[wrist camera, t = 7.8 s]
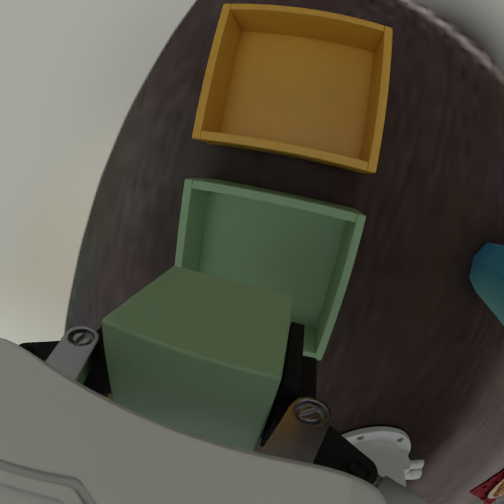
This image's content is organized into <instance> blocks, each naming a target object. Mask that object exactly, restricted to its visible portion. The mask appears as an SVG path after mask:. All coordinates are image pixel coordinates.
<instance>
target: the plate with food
mask: <svg viewBox="0 0 504 504" xmlns="http://www.w3.org/2000/svg"><path fill="white" fill-rule="evenodd" d="M486 485H488V486H487V487H484V486H486ZM482 487H484V488H482ZM470 493H472V494H473V495H476V496H477V497H479V498H480V499H481V500H485V501H484V502H485V503H484V504H486V503H487V504H491V503H492V502H493V501H494V502H495V500H496V498H499V497H501V496H502V495H504V470H503V471H502V472H500V474H498V475H497V476H494V477H493V478H491V479H490V480H489V481H487V482H486V483H485V484H482V485H481V486H478V487H477V488H476V489H474V490H472V491H471V492H470Z"/></svg>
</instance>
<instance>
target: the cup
mask: <svg viewBox="0 0 504 504" xmlns="http://www.w3.org/2000/svg"><path fill="white" fill-rule="evenodd" d="M469 279H470V281H471V283H472V285H473V287H474V289H475V292H476V293H477V294H478V296H479V297H480V298H481V299H482V300H483V301H484V302H485V304H486V305H487V306H488V307H489V308H490V309H491V311H492V312H493V313H494V314H495V315H496V317H497V318H498V319H499V320H500V322H501V323H502V324H503V325H504V245H501V244H494V243H486V244H485V245H484V246H483V247H482V248H481V249H480V250H479V251H478V252H477V253H476V254H475V255H474V256H473V261H472V266H471V271H470V275H469Z"/></svg>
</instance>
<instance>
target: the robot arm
mask: <svg viewBox="0 0 504 504" xmlns="http://www.w3.org/2000/svg"><path fill="white" fill-rule="evenodd" d="M304 329H305V325H304V324H300V323H295V322H291V325H290V327H289V334H288V341H287V347H286V354H285V360H284V366H283V372H282V378H281V382H280V384H279V387H278V390H277V393H276V396H275V399H274V402H273V405H272V408H271V410H270V413H269V416H268V419H267V421H266V424H265V427H264V429H263V432H262V435H261V437H260V438H262V440H261V444H260V446H263V448H262V449H261V451H260V452H259V453H258V452H254V451H250V450H246V449H242V448H238V447H234V446H231V445H227V444H223V443H220V442H217V441H213V440H210V439H207V438H204V437H200V436H197V435H194V434H191V433H189V432H186V431H183V430H180V429H177V428H175V427H172V426H169V425H167V424H164V423H162V422H159V421H157V420H154V419H152V418H149V417H147V416H145V415H142V414H140V413H138V412H136V411H133V410H131V409H129V408H127V407H125V406H123V405H121V404H119V403H116V402H114V401H112V400H110V399H108V394H110V393H111V394H112V392H111V387H110V381H109V376H108V370H107V363H106V356H105V349H104V341H103V332H102V325H101V328H100V329H98V330H97V331H96V330H94V329H93V328H90V327H86V326H78V327H74V328H71V329H70V330H68V331H67V332H66V333H65V335H64V336H63V337H62V339H61V340H60V341H53V342H52V341H51V342H35V343H34V342H32V343H22V344H20V345H17V344H15V343H13V342H11V341H8V340H6V339H2V338H0V504H429V502H428V501H427V500H426V499H425V498H423V497H422V496H420V495H418V494H416V493H415V492H413V491H411V490H409V489H408V488H407V487H406V480H412V479H419V478H420V476H421V474H422V469H421V468H422V467H423V465H424V460H422V459H421V460H410V459H409V458H408V454H409V452H410V449H411V443H410V439H409V437H408V435H407V434H406V433H405V432H404V431H402V430H400V429H397V428H393V427H384V426H378V427H368V428H362V429H358V430H354V431H351V432H348V433H345V434H342V435H341V434H340V433H338V432H337V431H336V430H335V429H334V428H333V427H332V426H330V425H329V424H330V422H331V418H332V413H331V410H330V408H329V407H328V406H327V405H326V404H325V403H324V402H322V401H320V400H318V399H316V358H314V357H309V356H304V355H303V347H304ZM405 479H406V480H405Z"/></svg>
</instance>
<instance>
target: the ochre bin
mask: <svg viewBox="0 0 504 504" xmlns="http://www.w3.org/2000/svg"><path fill="white" fill-rule="evenodd" d="M392 30H393V29H392V28H390V27H387V26H385V27H384V26H383V25H380V24H377V23H373V22H369V21H366V20H362V19H358V18H354V17H349V16H345V15H340V14H335V13H330V12H325V11H319V10H312V9H306V8H298V7H289V6H278V5H263V4H224V5H223V8H222V12H221V15H220V19H219V22H218V26H217V29H216V33H215V36H214V40H213V44H212V48H211V52H210V56H209V60H208V64H207V68H206V72H205V76H204V81H203V85H202V90H201V94H200V99H199V104H198V109H197V113H196V119H195V124H194V129H193V134H192V138H193V139H196V140H200V141H203V142H206V143H210V144H213V145H220V146H228V147H235V148H241V149H248V150H254V151H260V152H266V153H271V154H277V155H282V156H287V157H292V158H297V159H302V160H307V161H311V162H316V163H320V164H325V165H329V166H333V167H337V168H341V169H345V170H349V171H353V172H357V173H361V174H367V173H376V169H377V164H378V158H379V152H380V147H381V141H382V134H383V128H384V121H385V114H386V106H387V98H388V88H389V78H390V67H391V52H392Z"/></svg>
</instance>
